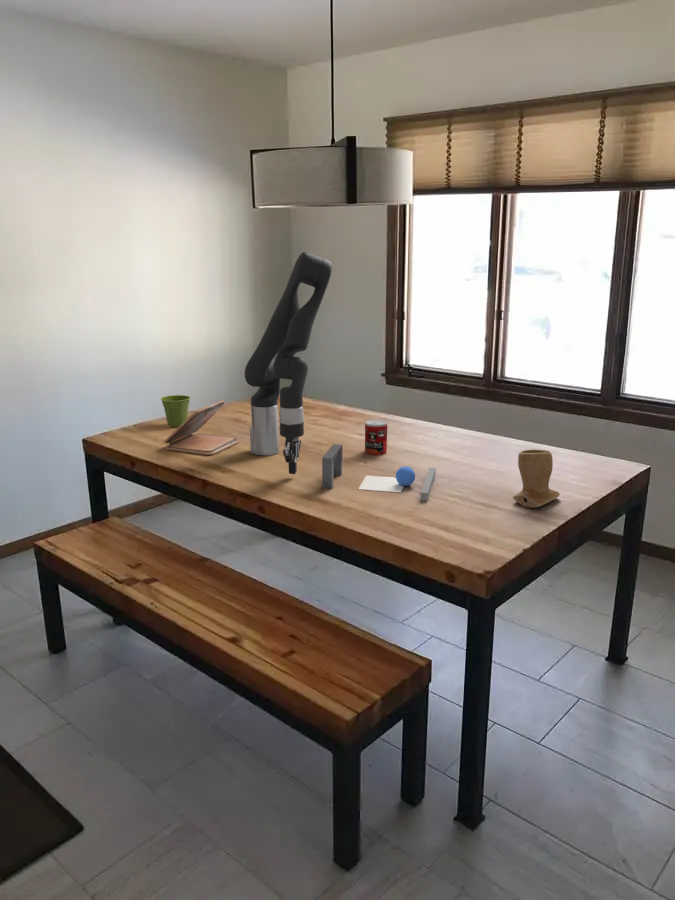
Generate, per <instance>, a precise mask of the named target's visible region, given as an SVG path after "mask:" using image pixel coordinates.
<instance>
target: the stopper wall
mask: <svg viewBox="0 0 675 900" xmlns="http://www.w3.org/2000/svg"><path fill="white" fill-rule="evenodd" d="M436 471H437V468H436V467H429V468H428V471H427V474H426V477H425V479H424V482H423V485H422V488H421V491H420V501H422V502H428V501H429V497H430V494H431V491H432V488H433V484H434V481H435V478H436V476H437V475H436Z"/></svg>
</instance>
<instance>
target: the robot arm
mask: <svg viewBox="0 0 675 900" xmlns="http://www.w3.org/2000/svg"><path fill="white" fill-rule="evenodd" d="M332 270H333V265H332V262H331V261H330V260H328V259H326V258H325V257H321V256H318V255H316V254H314V253H311V252H310V253H309V252H307V251H303V252H302V253H300V254H299V256H298V257H297V259H296V261H295V264H294V265H293V268H292V271H291V273H290V275H289V279H288V281H287V283H286V285H285V286H286V287H285V289H284V291H283V293H282V295H281V298H280V300H279V302H278V304H277V306H276V307H275V310H273V311H274V312H273V313H272V316H271V318H270V320H269V322H268V325H267V327H266V329H265V331H264V333H263V335H262V337H261V339H260V341H259V343H258V345H257V346H256V348H255V351H254V352H253V354H252V355H251V356H250V358H249V360H248V362H247V363H246V365H245V368H244V379H245V382H246V383H247V385H249V386H251V387H254V388H256V387H257V388H258V387H259V388H258V390H257V391H256V392H255V393H254V394H253V395H252V396H251V398H250V412H251V413H250V414H251V415H250V416H251V417H250V419H251V426H249V438H250V439H249V442H250V443H249V444H250V454H254V455H255V456H256V455H257V456H272V455H276V454H279V452H280V450H279V449H280V445H279V443H280V442H279V441H280V439H279V436H281V437H284V438H285V441H284V442H283V443H284V449H283V450H282V455H283V457H284V460H285V462H286V463H288V474H289V475H296V473H297V471H298V469H297V468H298V467H297V465H298V463H297V462H298V458H300V451H301V444H302V440H301V439H299V438H300V437H303V436H304V434H305V427H304V426H305V424H304V423H305V421H304V420H305V418H304V416H305V415H304V413H305V412H304V406H303V405H304V404H303V403H304V401H303V392H304V388H305V384H306V381H307V376H308V372H309V369H308V367H309V366H308V363H307V361H306V360H305V358H303V357H300V356H295V355H296V354H297V353H300V352H304V351H306V350H307V348H308V346H309V341H310V337H311V334H312V330H313V325H314V322H315V319H316V317H317V314H318V312H319V309H320V306H321V304H322V301H323V299H324V296H325V293H326V291H327V288H328V285H329V282H330V279H331V275H332V272H333V271H332ZM300 284H304V285H306V286H310V287H313V288H314V290H313V293H312V295H311V296H310V298H309V300H307V302H306V303H305V304H303V306H300V302H299V294H298V293H299V291H298V290H299V287H300ZM281 379H283V380H290V381H291V384H290V385H287V386H283V387H281ZM278 399H279V402H278ZM278 403H279V404H278ZM278 405H279V406H278ZM278 409H279V410H278Z"/></svg>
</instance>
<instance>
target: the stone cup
mask: <svg viewBox="0 0 675 900" xmlns="http://www.w3.org/2000/svg"><path fill="white" fill-rule="evenodd" d="M517 458H518V459H517V464H518V465H517V467H518V470H519V474H520V477H521V482H522V489H521V491H519V492H518V493H517V494H515V495H514V496H512V499H514V501H515V502H516V503H518V504H520V505H521V506H522V507H526V508H529V509H530V508H532V509H533V508H539V507H542V506H544V505H546V504H548V503H550V502H552V501H554V500H555V499H557V498H558V497H559V496H560V494H561V493H560V492H559V491H557V490H554V489H551V488H550V487H549V486H550V485H549V483H550V480H551V475H552V473H553V467H554V466H553V465H554V463H553V454H552V452H551V451H550V450H547V449H539V448H537V449H524V450H520V451H519V453H518V456H517Z"/></svg>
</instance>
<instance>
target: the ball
mask: <svg viewBox="0 0 675 900" xmlns="http://www.w3.org/2000/svg"><path fill="white" fill-rule="evenodd" d="M395 478H396V480H397V482H398V483H399V484H400V485H403V486H404V487H408V486H411V485H412V484H413V483H414V482H415V480H416V472H415V471H414V469H413V468H411V467H410V466H406V465H405V466H401V467H399V468H398V469H397V470H396V472H395Z"/></svg>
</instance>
